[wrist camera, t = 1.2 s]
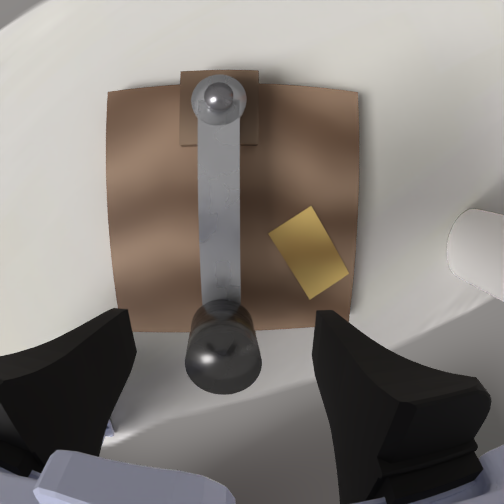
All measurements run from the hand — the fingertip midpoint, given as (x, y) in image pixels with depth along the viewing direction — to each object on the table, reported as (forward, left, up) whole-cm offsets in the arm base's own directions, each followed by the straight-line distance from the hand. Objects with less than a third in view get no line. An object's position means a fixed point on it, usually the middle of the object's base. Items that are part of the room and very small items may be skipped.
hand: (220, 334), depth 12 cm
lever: (+3, 0, -9) cm, 10 cm away
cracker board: (+3, -1, -13) cm, 13 cm away
